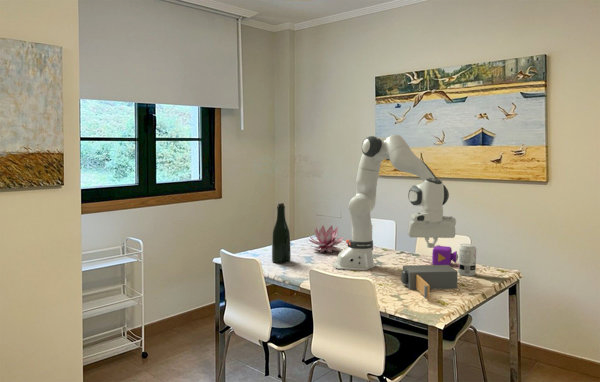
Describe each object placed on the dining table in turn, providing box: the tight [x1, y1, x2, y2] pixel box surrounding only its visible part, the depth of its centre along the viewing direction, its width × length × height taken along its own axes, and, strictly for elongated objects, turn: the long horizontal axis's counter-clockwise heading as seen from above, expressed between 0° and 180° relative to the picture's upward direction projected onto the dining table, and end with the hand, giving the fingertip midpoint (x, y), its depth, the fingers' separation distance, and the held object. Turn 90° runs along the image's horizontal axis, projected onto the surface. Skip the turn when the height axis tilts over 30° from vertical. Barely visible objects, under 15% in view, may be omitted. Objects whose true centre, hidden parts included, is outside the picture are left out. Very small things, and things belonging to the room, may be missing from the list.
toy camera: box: [431, 244, 459, 266], centre depth 266 cm, size 11×14×10 cm
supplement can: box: [457, 243, 477, 277], centre depth 246 cm, size 8×8×15 cm
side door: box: [416, 275, 431, 300], centre depth 213 cm, size 16×2×6 cm, turn 4°
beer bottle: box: [271, 202, 292, 264], centre depth 272 cm, size 10×10×33 cm
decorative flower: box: [309, 225, 344, 253], centre depth 297 cm, size 21×21×15 cm
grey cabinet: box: [400, 264, 459, 291], centre depth 228 cm, size 24×12×8 cm, turn 94°
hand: (430, 247), depth 213 cm, fingers closed
